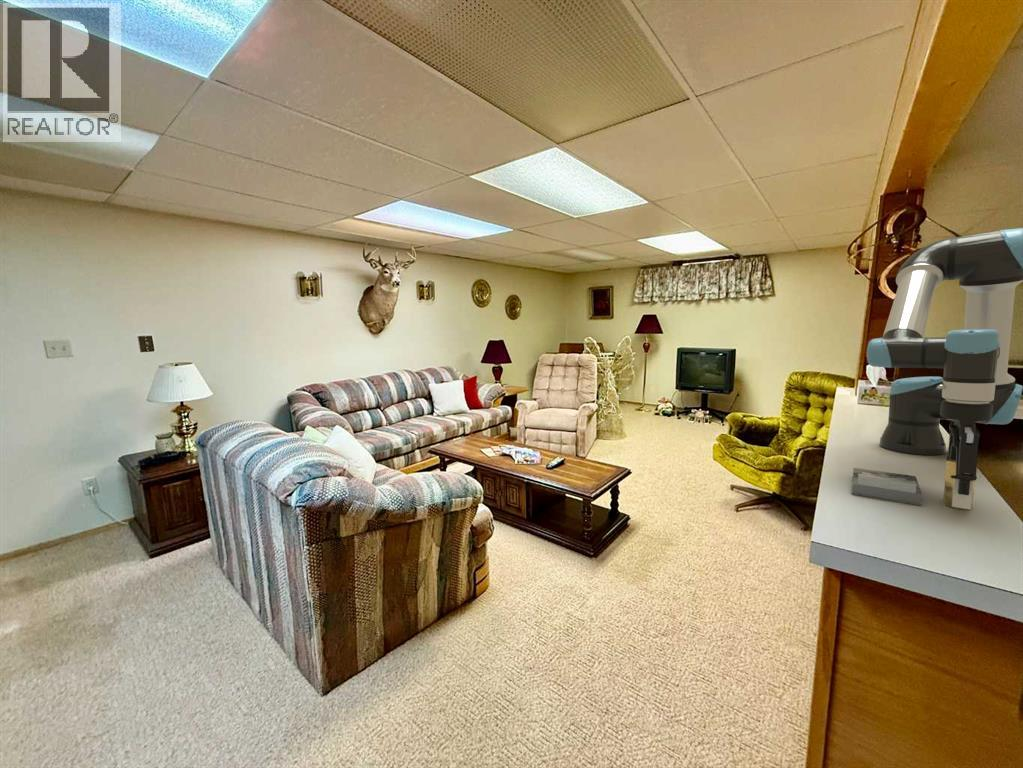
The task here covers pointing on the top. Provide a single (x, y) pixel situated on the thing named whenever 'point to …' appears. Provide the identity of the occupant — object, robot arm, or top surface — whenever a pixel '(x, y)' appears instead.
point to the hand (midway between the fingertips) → (957, 501)
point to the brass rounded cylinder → (951, 484)
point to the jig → (886, 486)
